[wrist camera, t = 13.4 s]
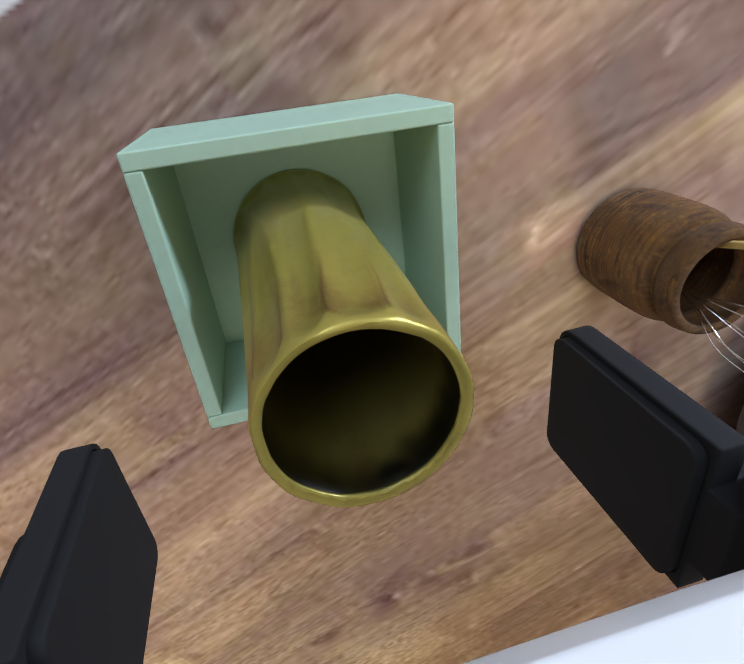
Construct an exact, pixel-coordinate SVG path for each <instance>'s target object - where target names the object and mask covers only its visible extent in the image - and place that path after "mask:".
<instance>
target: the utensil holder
mask: <svg viewBox="0 0 744 664" xmlns="http://www.w3.org/2000/svg"><path fill="white" fill-rule="evenodd" d="M577 254H578V262H579V266H580V269H581V271H582V273H583V274H584V276H585V277H586V279H587V280H588V281H589V282H590V283H591V284H593V285H594V286H595V287H596V288H598V289H599V290H600V291H602V292H603V293H605V294H606V295H608V296H610V297H611V298H613V299H614V300H616V301H618V302H619V303H621V304H622V305H624V306H626V307H627V308H629V309H631V310H632V311H634V312H636V313H638V314H640V315H642V316H644V317H647V318H650V319H653V320H659V321H664V322H665V323H667V324H668V325H670V326H672V327H674V328H676V329H679V330H682V331H685V332H688V333H692V334H706V335H707V336H708V334H707V333H712V334H713V332H715V331H718V330H720V329H722V328H724V327H726V326H729V327H731V326H730V324H732V325H733V326H735V325H734V324H733V322H734V321H736V320H737V319H739V318H740V317H741V316H743V314H744V225H743V224H740V223H737V222H732V221H731V220H730V219H729V218H728V217H727V216H726V215H725V214H723V213H722V212H720V211H718V210H717V209H715V208H712V207H710V206H708V205H705V204H702V203H699V202H696V201H693V200H690V199H686V198H683V197H680V196H677V195H673V194H670V193H666V192H663V191H659V190H654V189H646V188H636V189H630V190H626V191H623V192H620V193H618V194H616V195H614V196H612V197H610V198H609V199H607V200H606V201H605V202H603V203H602V204H601V205H600V206H599V207H598V208H597V209H596V210H595V211H594V212H593V214H592V215H591V216H590V218H589V219H588V221H587V222H586V224H585V226H584V228H583V230H582V232H581V235H580V239H579V243H578V251H577ZM743 317H744V316H743ZM735 327H736V328H737V329H739V328H738V327H737V326H735ZM731 328H732V327H731ZM732 329H733V330H734V331H736V330H735V329H734V328H732ZM739 330H740V331H741V332H743V331H742V330H741V329H739ZM736 332H737V331H736ZM737 333H738V334H739V335H741V334H740V333H739V332H737ZM743 333H744V332H743ZM715 334H716V335H717V333H716V332H715ZM713 335H714V334H713ZM717 336H718V335H717ZM741 336H742V335H741ZM714 337H715V338H716V339H717V340H718V341H720V340H721V339H720V337H719V336H718V338H719V339H720V340H719V339H718V338H717V337H716V336H715V335H714ZM742 337H743V338H744V336H742ZM708 338H709V336H708ZM709 340H710V342H711V343H712V341H711V339H710V338H709ZM720 342H721V343H722V344H723V345H724V346H725V347H726V348H727V349H728V350H729V351H730V352H731V353H732V354H734V355H735V356H736V355H737V354H736V353H735V352H733V351H732V350H731V349H730V348H728V347H727V346H726V345H725V344H724V342H723V341H722V340H721V341H720ZM712 345H713V346H714V347H715V345H714V344H713V343H712ZM715 348H716V347H715ZM716 350H717V351H718V352H719V353H720V354H721V355H722V356H723V357H725V356H724V355H723V354H722V353H721V352H720V351H719V350H718V349H717V348H716ZM737 356H738V357H737ZM737 356H736V357H737V358H738V359H739V360H741V359H742V360H743V361H742V360H741V361H742V362H743V363H744V359H743V358H741V357H740V356H739V355H737ZM725 358H726V357H725ZM740 358H741V359H740ZM726 359H727V358H726ZM727 360H728V361H729V362H731V361H730V360H729V359H727ZM731 363H732V362H731ZM732 364H733V365H734V366H736V365H735V364H734V363H732ZM736 367H737V368H738V369H740V368H739V367H738V366H736ZM740 370H741V371H742V372H744V371H743V370H742V369H740Z"/></svg>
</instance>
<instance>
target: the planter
mask: <svg viewBox="0 0 744 664" xmlns="http://www.w3.org/2000/svg"><path fill="white" fill-rule="evenodd" d="M736 431H737V432H738V433H740V434H741V435H742V436H744V405H743V408H742V410H741V413H740V416H739V420H738V423H737V428H736Z"/></svg>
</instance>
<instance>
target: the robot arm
mask: <svg viewBox="0 0 744 664" xmlns="http://www.w3.org/2000/svg"><path fill="white" fill-rule="evenodd" d="M547 437H548V440H549V443H550V445H551V447H552V448H553V450H554V451H555V452H556V453H557V455H558V456H559V457H560V458H561V459H562V460H563V462H564V463H565V464H566V465H567V466H568V468H569V469H570V470H571V471H572V472H573V474H574V475H575V476H576V477H577V478H578V480H579V481H580V482H581V483H582V484H583V485H584V487H585V488H586V489H587V490H588V491H589V493H590V494H591V495H592V496H593V497H594V499H595V500H596V501H597V502H598V503H599V505H600V506H601V507H602V508H603V509H604V510H605V512H606V513H607V514H608V515H609V516H610V518H611V519H612V520H613V521H614V522H615V524H616V525H617V526H618V527H619V528H620V530H621V531H622V532H623V533H624V534H625V536H626V537H627V538H628V539H629V540H630V541H631V543H632V544H633V545H634V546H635V547H636V549H637V550H638V551H639V552H640V553H641V555H642V556H643V557H644V558H645V559H646V561H647V562H648V563H649V564H650V565H651V566H652V567H653V568H654V569H655V570H656V571H657V572H659V573H665V574H666V575H667V576H668V577H669V579H670V580H671V581H672V582H673V583H674V585H675V586H676V587H677V588H680V587H682V586H685V585H688V584H691V583H694V582H697V581H700V580H702V579H703V577H704V578H705V579H706V580H707V581H706V582H703V583H700V584H696V585H693V586H690V587H687V588H684V589H681V590H678V591H675V592H672V593H669V594H666V595H663V596H660V597H657V598H654V599H651V600H648V601H645V602H642V603H639V604H636V605H633V606H630V607H627V608H624V609H621V610H618V611H615V612H613V613H610V614H607V615H604V616H601V617H598V618H595V619H592V620H589V621H586V622H583V623H580V624H577V625H574V626H571V627H568V628H565V629H562V630H559V631H556V632H553V633H550V634H548V635H545V636H542V637H539V638H536V639H533V640H530V641H527V642H524V643H521V644H518V645H515V646H513V647H510V648H507V649H504V650H501V651H498V652H495V653H492V654H489V655H486V656H483V657H481V658H478V659H475V660H472V661H469V662H466V663H463V664H744V436H742V435H741V434H740V433H738V432H737V431H736V430H734V429H733V428H731V427H730V426H729V425H727V424H726V423H725V422H723V421H722V420H720V419H719V418H718V417H716V416H715V415H714V414H712V413H711V412H709V411H708V410H707V409H705V408H704V407H702V406H701V405H700V404H698V403H697V402H696V401H694V400H693V399H691V398H690V397H689V396H687V395H686V394H685V393H683V392H682V391H680V390H679V389H678V388H676V387H675V386H674V385H672V384H671V383H669V382H668V381H667V380H665V379H664V378H663V377H661V376H660V375H658V374H657V373H656V372H654V371H653V370H652V369H650V368H649V367H647V366H646V365H645V364H643V363H642V362H641V361H639V360H638V359H636V358H635V357H634V356H632V355H631V354H630V353H628V352H627V351H625V350H624V349H623V348H621V347H620V346H619V345H617V344H616V343H614V342H613V341H612V340H610V339H609V338H608V337H606V336H605V335H603V334H602V333H601V332H599V331H598V330H597V329H595V328H594V327H592V326H583V327H579V328H575V329H571V330H567V331H564V332H562V334H561V336H560V339H558V340H556V342H555V344H554V353H553V365H552V377H551V390H550V402H549V414H548V426H547ZM157 559H158V551H157V545H156V541H155V539H154V537H153V535H152V533H151V531H150V529H149V527H148V525H147V523H146V520H145V518H144V516H143V514H142V512H141V510H140V508H139V506H138V504H137V502H136V500H135V498H134V496H133V494H132V492H131V490H130V488H129V486H128V484H127V482H126V480H125V478H124V476H123V474H122V472H121V470H120V468H119V466H118V464H117V462H116V460H115V458H114V456H113V454H112V452H111V450H109V449H108V448H105V449H100V447H99V446H98V445H97V444H89V445H85V446H81V447H77V448H72V449H68V450H64V451H62V452H60V454H59V455H58V457H57V459H56V461H55V464H54V466H53V468H52V471H51V473H50V475H49V478H48V480H47V482H46V485H45V487H44V489H43V492H42V494H41V496H40V499H39V501H38V503H37V506H36V508H35V510H34V513H33V515H32V517H31V520H30V522H29V524H28V527H27V529H26V531H25V534H24V535H23V536H21V537H20V538H19V539H18V541H17V542H16V544H15V546H14V548H13V550H12V552H11V555H10V557H9V559H8V561H7V564H6V566H5V568H4V571H3V573H2V575H1V577H0V664H143V659H144V652H145V645H146V638H147V631H148V624H149V617H150V609H151V602H152V595H153V588H154V581H155V574H156V567H157Z"/></svg>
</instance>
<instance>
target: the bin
mask: <svg viewBox="0 0 744 664" xmlns="http://www.w3.org/2000/svg"><path fill="white" fill-rule="evenodd" d="M453 121H454V106H453V103H449V102H443V101H438V100H432V99H427V98H421V97H416V96H410V95H405V94H400V93H397V94H390V95H383V96H376V97H369V98H362V99H355V100H348V101H342V102H335V103H328V104H321V105H314V106H307V107H300V108H293V109H286V110H279V111H272V112H265V113H258V114H251V115H244V116H237V117H230V118H223V119H216V120H209V121H202V122H196V123H189V124H182V125H175V126H168V127H161V128H154V129H150V130H148V131H147V132H146V133H145V134H143V135H142V136H141V137H139V138H138V139H136V140H135V141H134V142H132V143H131V144H129V145H128V146H127V147H125V148H124V149H122V150H121V151H120V152H118V153H117V155H116V156H117V159H118V161H119V164H120V167H121V170H122V172H123V173H124V179H125V182H126V184H127V187H128V190H129V193H130V196H131V199H132V202H133V205H134V207H135V210H136V213H137V216H138V219H139V222H140V225H141V228H142V230H143V233H144V236H145V239H146V242H147V245H148V248H149V251H150V254H151V256H152V259H153V262H154V265H155V268H156V271H157V274H158V277H159V279H160V282H161V285H162V288H163V291H164V294H165V297H166V300H167V302H168V305H169V308H170V311H171V314H172V317H173V320H174V323H175V325H176V328H177V331H178V334H179V337H180V340H181V343H182V346H183V348H184V351H185V354H186V357H187V360H188V363H189V366H190V369H191V371H192V374H193V377H194V380H195V383H196V386H197V389H198V392H199V395H200V397H201V400H202V403H203V406H204V409H205V412H206V415H207V416H208V420H209V423H210V426H211V428H212V429H214V428H218V427H223V426H227V425H231V424H236V423H240V422H244V421H248V390H247V376H246V363H245V347H244V333H243V321H242V307H241V297H240V284H239V269H238V261H237V252H236V248H235V245H234V240H233V231H234V223H235V218H236V214H237V212H238V209H239V207H240V205H241V203H242V201H243V200H244V198H245V197H246V195H247V194H248V193H249V192H250V191H251V190H252V189H253V188H254V187H255V186H256V185H257V184H258V183H259V182H261V181H262V180H264V179H265V178H267V177H269V176H271V175H273V174H275V173H278V172H282V171H286V170H292V169H309V170H314V171H318V172H322V173H324V174H327V175H329V176H331V177H333V178H335V179H336V180H338V181H340V182H341V183H342V184H343V185H345V186H346V187H347V188H348V189H349V190H350V192H351V193H352V194H353V196H354V197H355V199H356V200H357V202H358V204H359V206H360V208H361V210H362V212H363V215H364V218H365V221H366V225H367V226H368V227H369V229H370V230H371V232H372V233H373V234H374V235H375V236H376V237H377V239H378V240H379V241H380V242H381V243H382V245H383V246H384V247H385V249H386V250H387V251H388V253H389V254H390V256H391V257H392V258H393V260H394V261H395V262H396V264H397V265H398V267H399V268H400V269H401V271H402V272H403V274H404V275H405V276H406V278H407V279H408V280H409V282H410V283H411V285H412V286H413V288H414V289H415V291H416V292H417V294H418V295H419V297H420V298H421V300H422V301H423V303H424V304H425V305H426V307H427V308H428V309H429V311H430V312H431V313H432V314H433V315H434V317H435V318H436V319H437V320H438V322H439V323H440V324H441V326H442V327H443V328H444V330H445V331H446V332H447V334H448V335H449V337H450V338H451V339H452V341H453V343H454V344H455V346H456V347H457V349H458V350H459V351H460V353H461V338H460V305H459V272H458V239H457V206H456V172H455V139H454V123H452V122H453Z"/></svg>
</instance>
